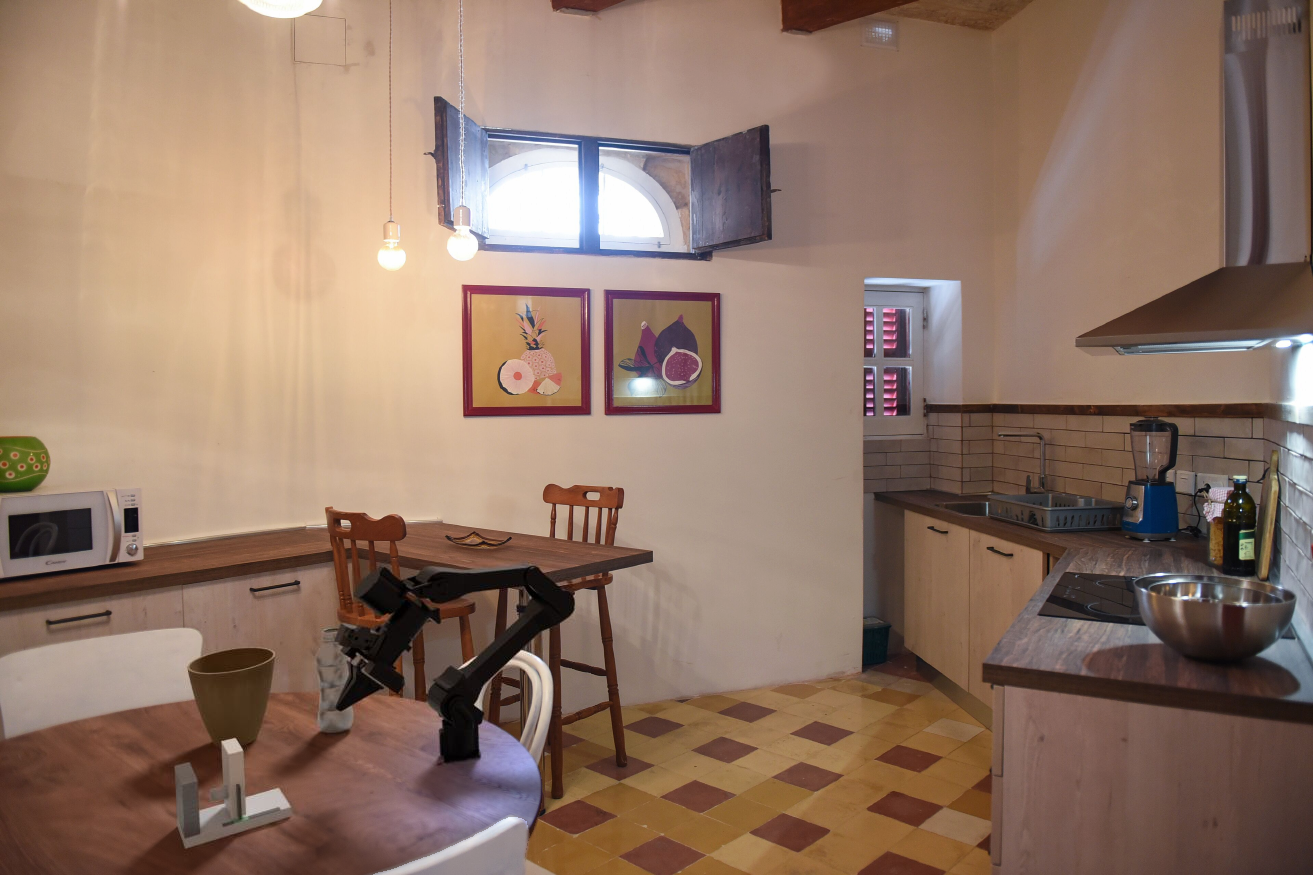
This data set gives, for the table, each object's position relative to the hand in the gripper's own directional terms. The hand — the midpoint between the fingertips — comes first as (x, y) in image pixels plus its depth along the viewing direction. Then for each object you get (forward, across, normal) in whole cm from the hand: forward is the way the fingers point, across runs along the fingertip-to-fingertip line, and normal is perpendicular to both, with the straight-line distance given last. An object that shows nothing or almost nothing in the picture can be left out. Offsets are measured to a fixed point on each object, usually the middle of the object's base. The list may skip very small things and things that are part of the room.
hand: (337, 709), depth 135 cm
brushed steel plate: (+24, +1, -8) cm, 25 cm away
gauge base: (+21, 0, -2) cm, 21 cm away
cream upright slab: (+20, +1, -4) cm, 21 cm away
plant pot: (+17, -33, +1) cm, 37 cm away
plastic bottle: (+6, -26, +13) cm, 30 cm away
